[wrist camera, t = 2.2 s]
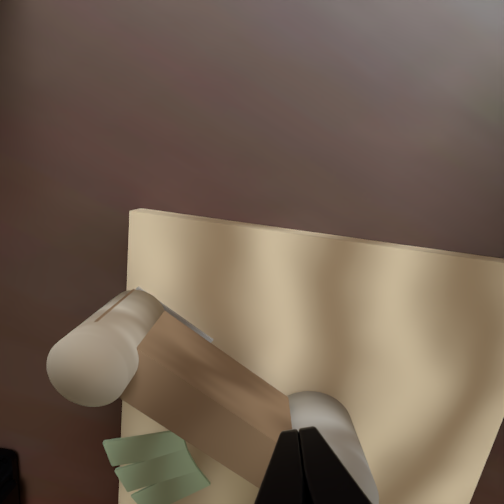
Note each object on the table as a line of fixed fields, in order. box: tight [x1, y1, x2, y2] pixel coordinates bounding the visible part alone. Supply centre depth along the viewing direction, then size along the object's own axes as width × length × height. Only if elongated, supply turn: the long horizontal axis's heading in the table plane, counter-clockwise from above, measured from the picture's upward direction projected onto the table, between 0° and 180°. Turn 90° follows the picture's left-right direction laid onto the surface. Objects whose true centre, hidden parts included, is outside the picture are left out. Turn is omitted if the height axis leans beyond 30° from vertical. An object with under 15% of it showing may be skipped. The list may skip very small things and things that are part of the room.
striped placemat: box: [103, 208, 504, 504], centre depth 18 cm, size 23×22×2 cm
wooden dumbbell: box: [47, 289, 379, 504], centre depth 14 cm, size 16×5×5 cm, turn 52°
